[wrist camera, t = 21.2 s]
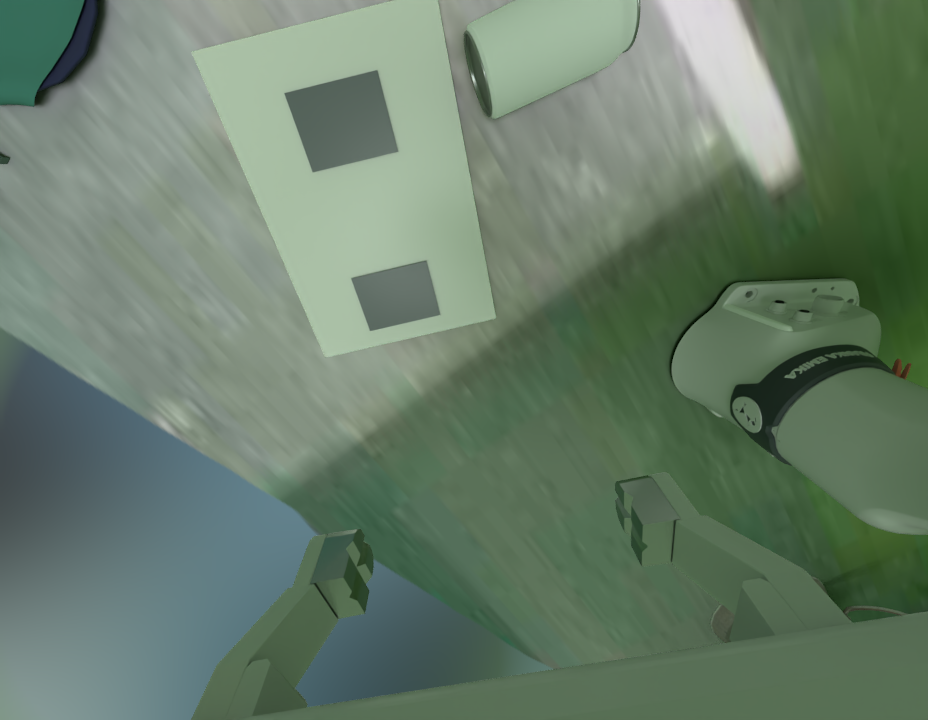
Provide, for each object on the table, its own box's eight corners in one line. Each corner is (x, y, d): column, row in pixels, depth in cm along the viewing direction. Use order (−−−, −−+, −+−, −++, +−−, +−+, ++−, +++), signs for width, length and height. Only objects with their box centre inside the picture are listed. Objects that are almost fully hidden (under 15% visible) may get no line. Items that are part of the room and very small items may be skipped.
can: (475, 100, 34) (599, 40, 33) (497, 136, 31) (636, 72, 29) (455, 12, 28) (604, -63, 27) (479, 46, 25) (650, -38, 24)
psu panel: (435, -5, 29) (435, -13, 28) (494, 315, 42) (496, 319, 41) (198, 55, 30) (188, 50, 29) (327, 353, 43) (324, 358, 41)
